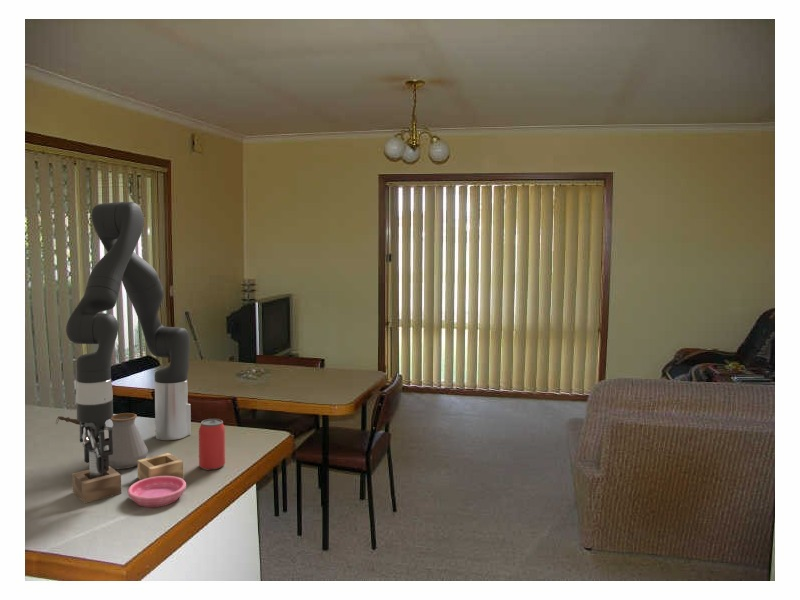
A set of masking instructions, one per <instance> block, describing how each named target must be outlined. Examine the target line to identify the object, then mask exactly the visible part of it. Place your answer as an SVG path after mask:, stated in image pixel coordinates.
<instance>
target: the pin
mask: <svg viewBox="0 0 800 600" xmlns="http://www.w3.org/2000/svg"><path fill="white" fill-rule="evenodd" d="M88 464H89V466H88V468H89V469H88V470H90V479H94V478H98V477H102V476H103V473H99V472H98V467H97V453H96V450H91V451H90V452H89V463H88Z"/></svg>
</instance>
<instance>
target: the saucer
mask: <svg viewBox="0 0 800 600" xmlns="http://www.w3.org/2000/svg"><path fill="white" fill-rule="evenodd" d="M186 488H187V482H186V481H185V480H184V478H183V479H181V478H179V477H174V476H156V477H150V478H146V479H143V480H140V479H139V480H138V481H136V482H134V483H133V484H131V486H129V487H128V490H127V493H128V497H129V499H131V500H132V501H133V502H135V503H136V505H137V506H141V507H143V506H144V508H158V507H163V506H167V505H170V504H172V503H174V502H176V501H177V500H179V498H180V496H182V495H183V493H184V492H185V491H186Z"/></svg>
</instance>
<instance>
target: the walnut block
mask: <svg viewBox="0 0 800 600" xmlns="http://www.w3.org/2000/svg"><path fill="white" fill-rule="evenodd" d="M71 474H72V475H71V478H72V479H71V480H72V493H73V494H74V495H75V496H77V498H78V499H80V500H81V501H82V503H84V504H87V503H90V502H94V501H98V500H101V498H102V499H105V498H110V497H113V496H117V495H119V494H122V474H120V472H118V471H116V469H114V468H111V467H110V466H109V470H108V471H107V472H103V476H102V477H98V478H94V479H90V469H86V470H82V471H78V472H77V471H76V472H74V473H71ZM112 495H113V496H112Z"/></svg>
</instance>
